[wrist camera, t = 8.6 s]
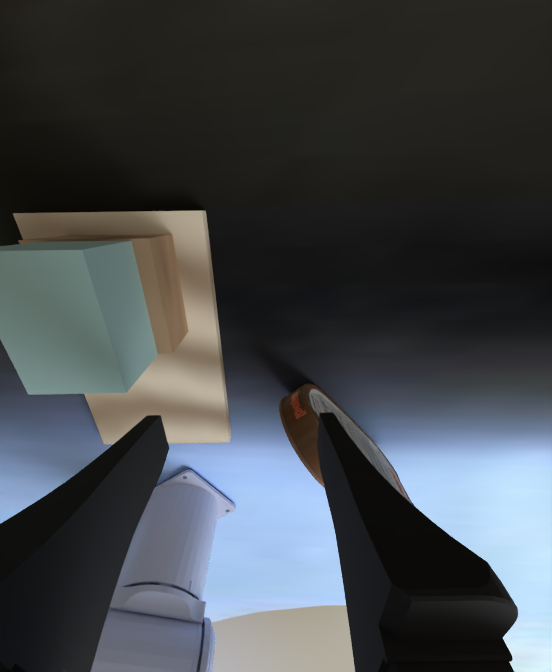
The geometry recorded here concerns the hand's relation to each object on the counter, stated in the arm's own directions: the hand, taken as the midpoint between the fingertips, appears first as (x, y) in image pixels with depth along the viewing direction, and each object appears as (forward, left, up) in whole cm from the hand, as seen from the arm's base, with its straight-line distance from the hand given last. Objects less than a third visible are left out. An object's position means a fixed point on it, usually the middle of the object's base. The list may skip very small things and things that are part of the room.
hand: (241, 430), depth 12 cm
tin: (+1, -12, -11) cm, 16 cm away
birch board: (-8, +4, -10) cm, 14 cm away
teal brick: (-4, +8, -6) cm, 11 cm away
